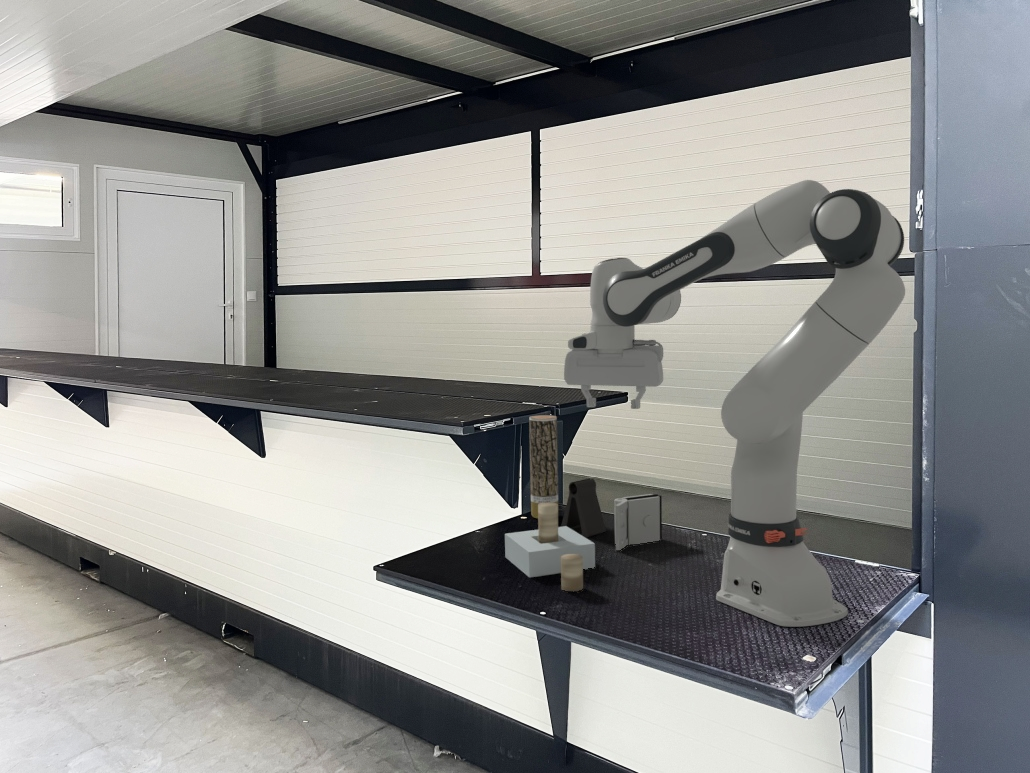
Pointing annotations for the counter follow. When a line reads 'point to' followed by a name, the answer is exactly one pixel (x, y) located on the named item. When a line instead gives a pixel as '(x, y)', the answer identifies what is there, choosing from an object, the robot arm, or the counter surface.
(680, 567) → the counter surface
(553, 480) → the bark-patterned tube
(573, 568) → the short pin
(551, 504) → the tall pin
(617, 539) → the hinge
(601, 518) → the phone stand
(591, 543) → the hole board
